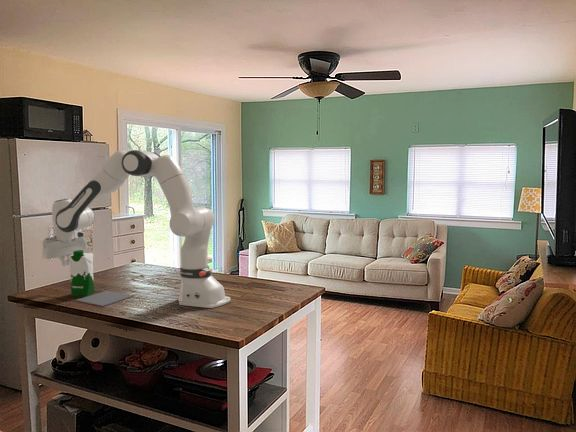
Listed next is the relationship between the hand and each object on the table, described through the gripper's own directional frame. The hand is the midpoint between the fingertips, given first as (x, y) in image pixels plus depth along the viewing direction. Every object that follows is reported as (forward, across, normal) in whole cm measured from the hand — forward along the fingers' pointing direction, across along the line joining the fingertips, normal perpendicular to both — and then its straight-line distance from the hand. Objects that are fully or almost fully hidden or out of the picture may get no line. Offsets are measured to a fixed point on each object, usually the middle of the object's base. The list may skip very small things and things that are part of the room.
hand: (66, 265), depth 216 cm
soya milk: (+12, 0, -11) cm, 16 cm away
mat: (+12, 0, -25) cm, 28 cm away
